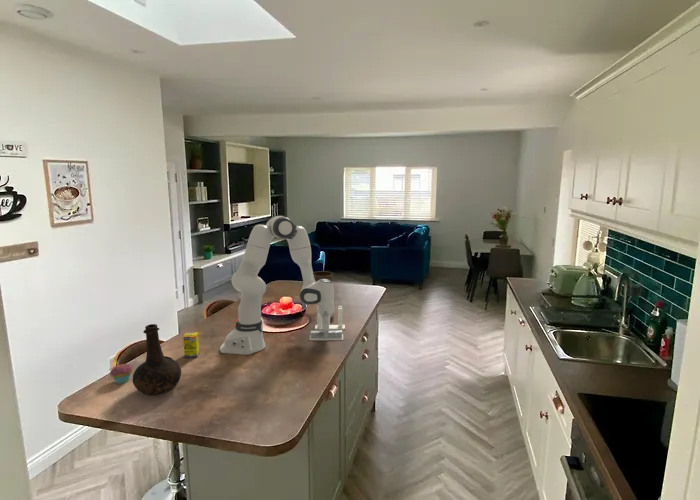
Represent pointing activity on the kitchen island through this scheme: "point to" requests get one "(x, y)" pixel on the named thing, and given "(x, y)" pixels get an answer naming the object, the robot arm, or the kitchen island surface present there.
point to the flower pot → (334, 309)
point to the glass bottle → (156, 367)
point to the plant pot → (323, 275)
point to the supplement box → (191, 345)
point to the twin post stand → (331, 327)
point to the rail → (330, 334)
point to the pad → (325, 338)
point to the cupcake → (121, 372)
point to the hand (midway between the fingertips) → (326, 333)
